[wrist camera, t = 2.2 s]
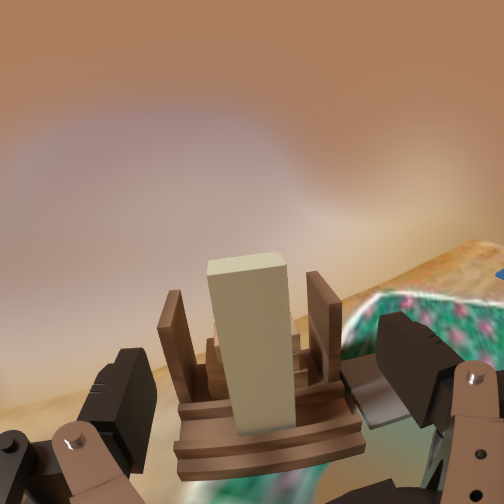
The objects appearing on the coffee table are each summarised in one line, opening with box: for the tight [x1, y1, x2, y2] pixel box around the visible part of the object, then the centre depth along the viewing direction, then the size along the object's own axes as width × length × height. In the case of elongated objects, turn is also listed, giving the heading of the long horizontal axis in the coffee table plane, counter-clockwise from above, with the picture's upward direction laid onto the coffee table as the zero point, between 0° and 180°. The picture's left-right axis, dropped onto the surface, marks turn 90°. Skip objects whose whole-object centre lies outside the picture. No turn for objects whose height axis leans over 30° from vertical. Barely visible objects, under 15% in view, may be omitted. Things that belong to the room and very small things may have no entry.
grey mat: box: [340, 353, 412, 430], centre depth 31 cm, size 11×11×1 cm
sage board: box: [207, 251, 296, 436], centre depth 24 cm, size 5×3×16 cm, turn 96°
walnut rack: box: [157, 271, 366, 481], centre depth 29 cm, size 16×16×12 cm
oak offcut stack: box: [206, 313, 308, 401], centre depth 33 cm, size 10×6×7 cm, turn 96°
